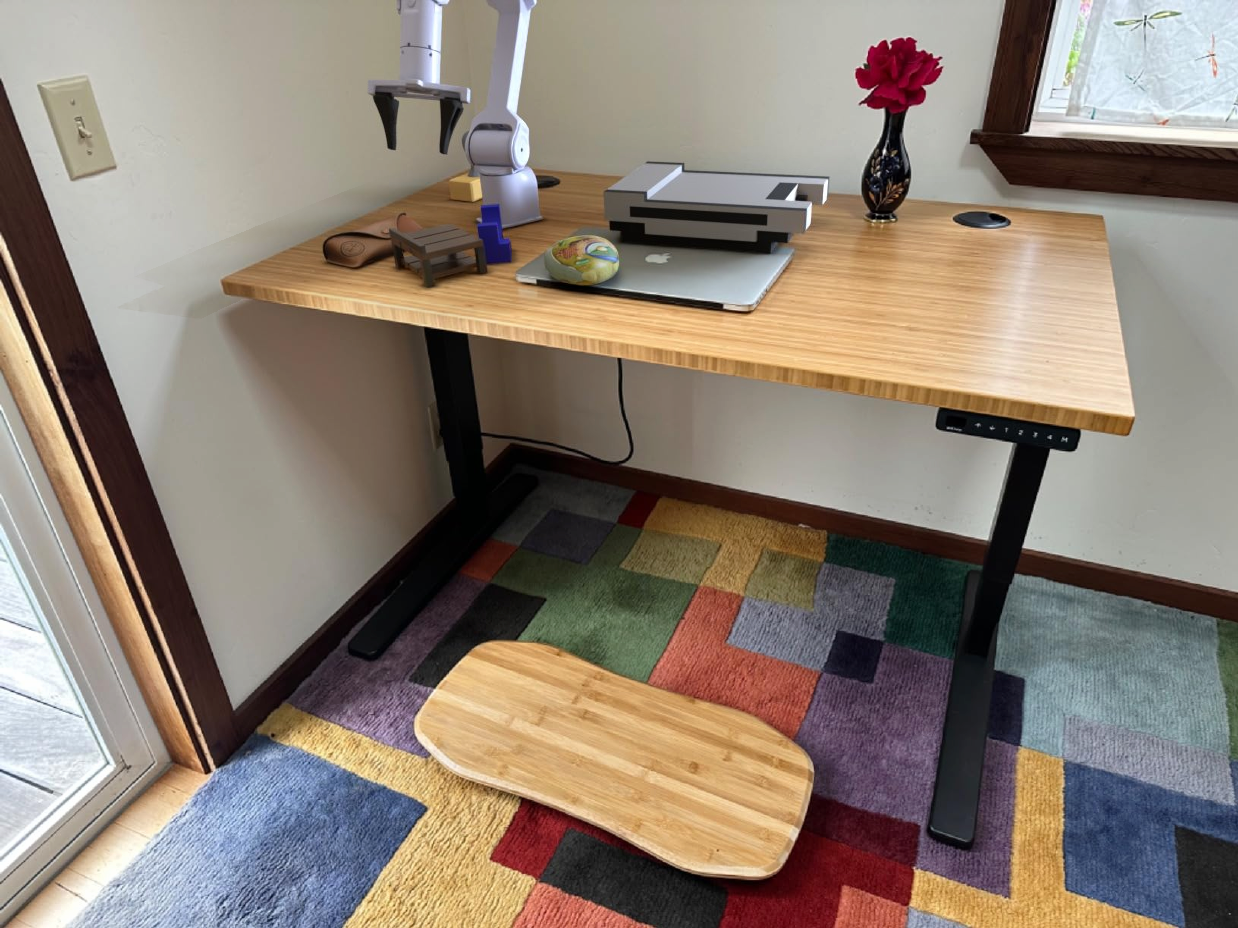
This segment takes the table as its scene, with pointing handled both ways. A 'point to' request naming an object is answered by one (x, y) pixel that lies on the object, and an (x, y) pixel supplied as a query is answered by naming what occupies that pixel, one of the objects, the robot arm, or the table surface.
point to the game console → (711, 207)
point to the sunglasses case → (366, 242)
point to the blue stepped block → (493, 235)
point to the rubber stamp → (466, 183)
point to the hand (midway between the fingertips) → (417, 151)
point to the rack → (437, 251)
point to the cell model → (582, 260)
